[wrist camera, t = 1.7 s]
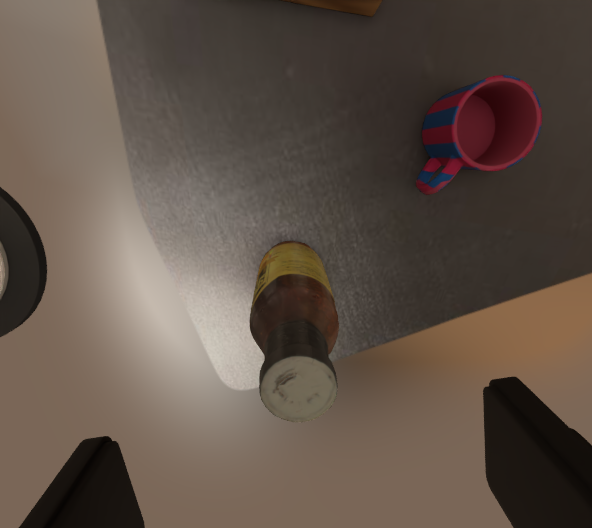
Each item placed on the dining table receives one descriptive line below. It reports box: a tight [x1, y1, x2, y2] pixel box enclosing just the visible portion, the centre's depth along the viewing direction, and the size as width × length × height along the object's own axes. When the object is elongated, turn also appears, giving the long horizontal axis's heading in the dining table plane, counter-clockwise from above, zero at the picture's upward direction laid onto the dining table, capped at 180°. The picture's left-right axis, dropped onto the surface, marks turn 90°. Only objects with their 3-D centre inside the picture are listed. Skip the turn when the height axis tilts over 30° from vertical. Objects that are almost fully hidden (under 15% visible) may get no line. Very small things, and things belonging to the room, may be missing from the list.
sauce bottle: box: [250, 241, 339, 422], centre depth 29 cm, size 6×6×20 cm
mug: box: [416, 75, 542, 195], centre depth 33 cm, size 7×10×7 cm
